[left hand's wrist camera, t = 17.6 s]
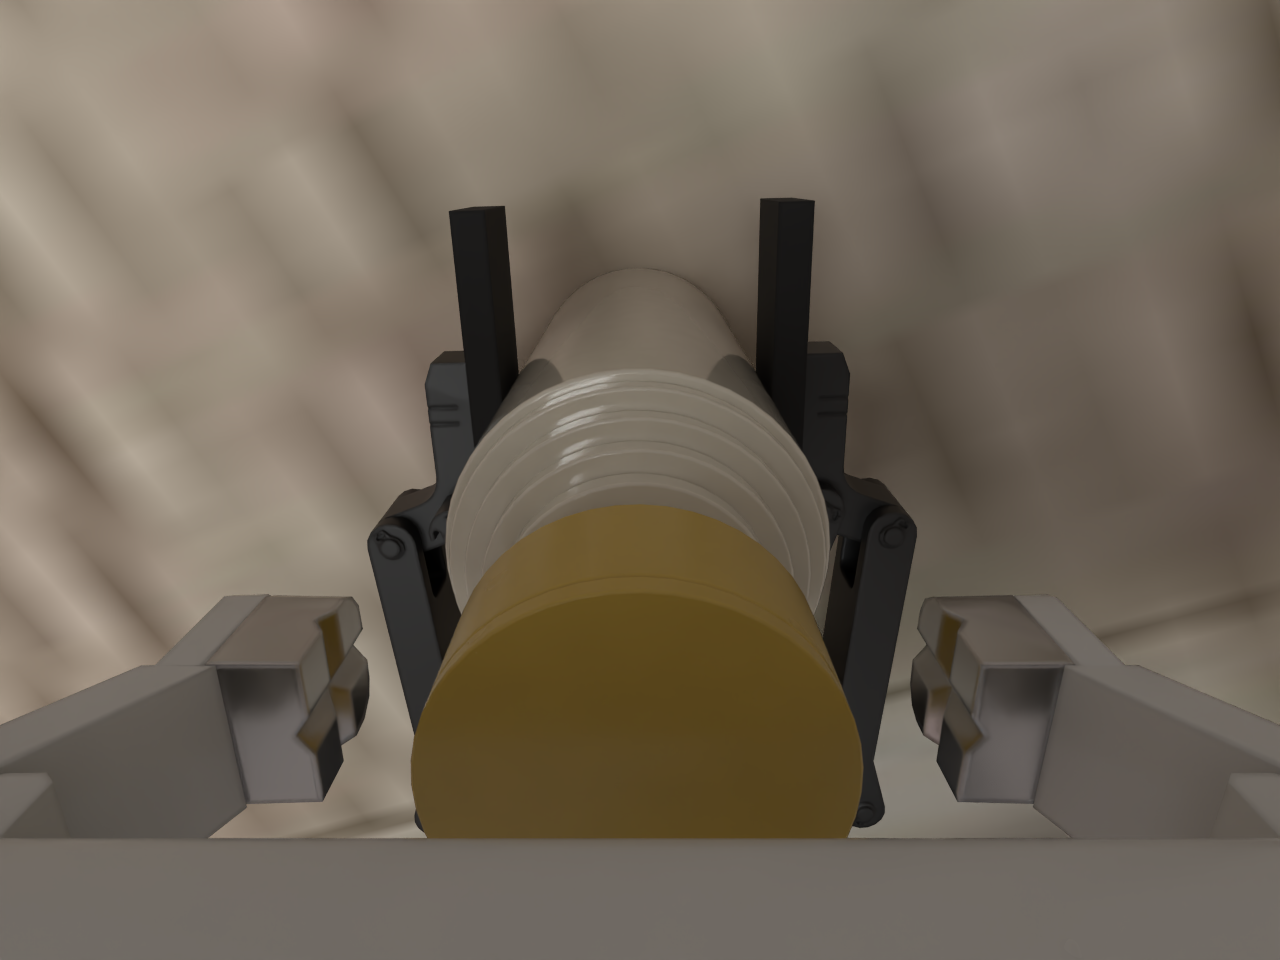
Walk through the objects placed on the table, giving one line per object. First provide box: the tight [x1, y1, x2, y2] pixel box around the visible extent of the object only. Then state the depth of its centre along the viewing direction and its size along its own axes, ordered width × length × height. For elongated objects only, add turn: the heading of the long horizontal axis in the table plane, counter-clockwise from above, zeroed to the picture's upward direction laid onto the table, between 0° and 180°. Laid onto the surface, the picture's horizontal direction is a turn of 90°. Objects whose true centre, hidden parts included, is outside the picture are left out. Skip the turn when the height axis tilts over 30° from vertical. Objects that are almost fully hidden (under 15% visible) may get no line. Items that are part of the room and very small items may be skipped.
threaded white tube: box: [445, 268, 830, 615], centre depth 17 cm, size 6×6×18 cm
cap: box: [411, 504, 863, 838], centre depth 9 cm, size 4×4×2 cm
